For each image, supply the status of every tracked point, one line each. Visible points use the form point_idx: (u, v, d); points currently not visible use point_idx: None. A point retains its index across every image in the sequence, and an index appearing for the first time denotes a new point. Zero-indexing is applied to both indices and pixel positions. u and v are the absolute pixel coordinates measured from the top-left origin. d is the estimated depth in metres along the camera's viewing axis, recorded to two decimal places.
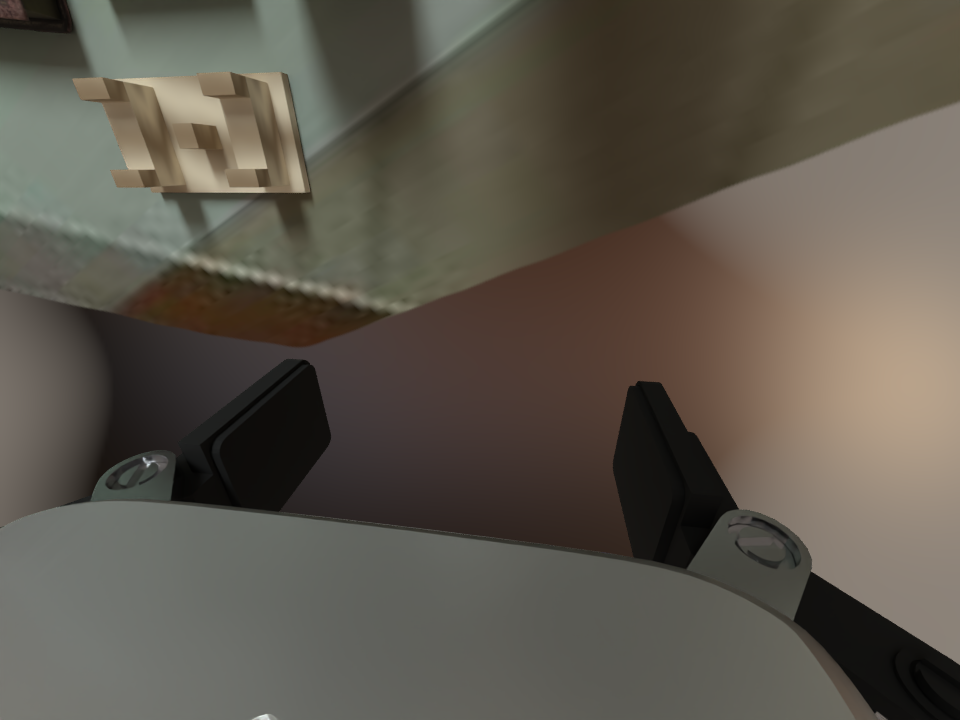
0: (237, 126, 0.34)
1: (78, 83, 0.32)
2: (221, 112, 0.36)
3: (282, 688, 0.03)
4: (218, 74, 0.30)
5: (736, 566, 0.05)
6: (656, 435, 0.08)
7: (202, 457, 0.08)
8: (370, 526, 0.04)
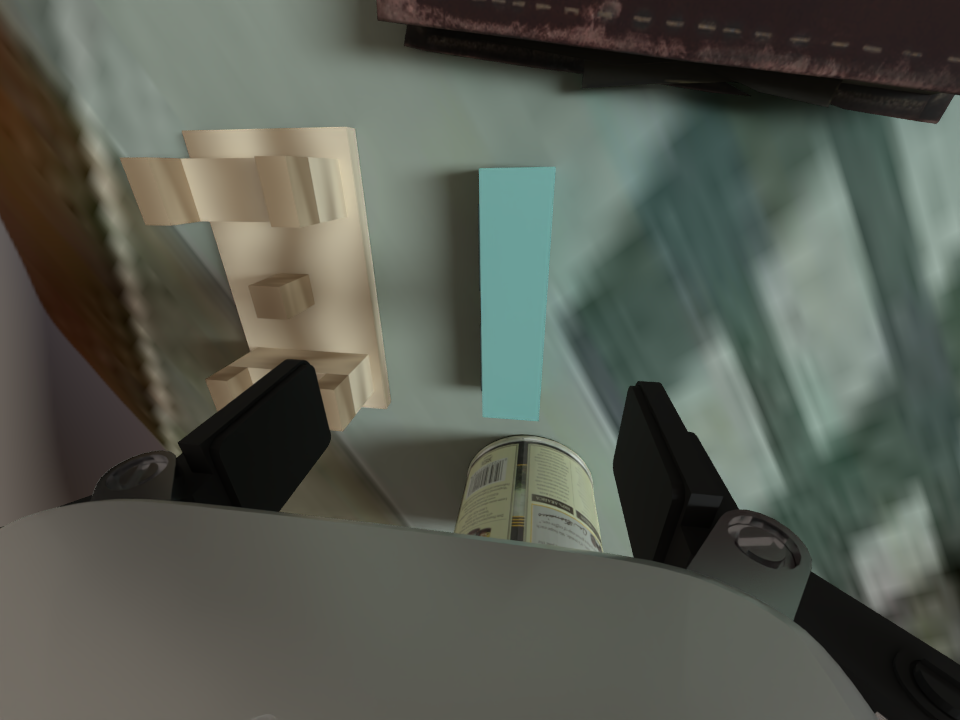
0: None
1: (279, 166, 0.17)
2: (332, 319, 0.25)
3: (282, 688, 0.03)
4: (337, 416, 0.23)
5: (736, 566, 0.05)
6: (656, 435, 0.08)
7: (202, 457, 0.08)
8: (370, 526, 0.04)
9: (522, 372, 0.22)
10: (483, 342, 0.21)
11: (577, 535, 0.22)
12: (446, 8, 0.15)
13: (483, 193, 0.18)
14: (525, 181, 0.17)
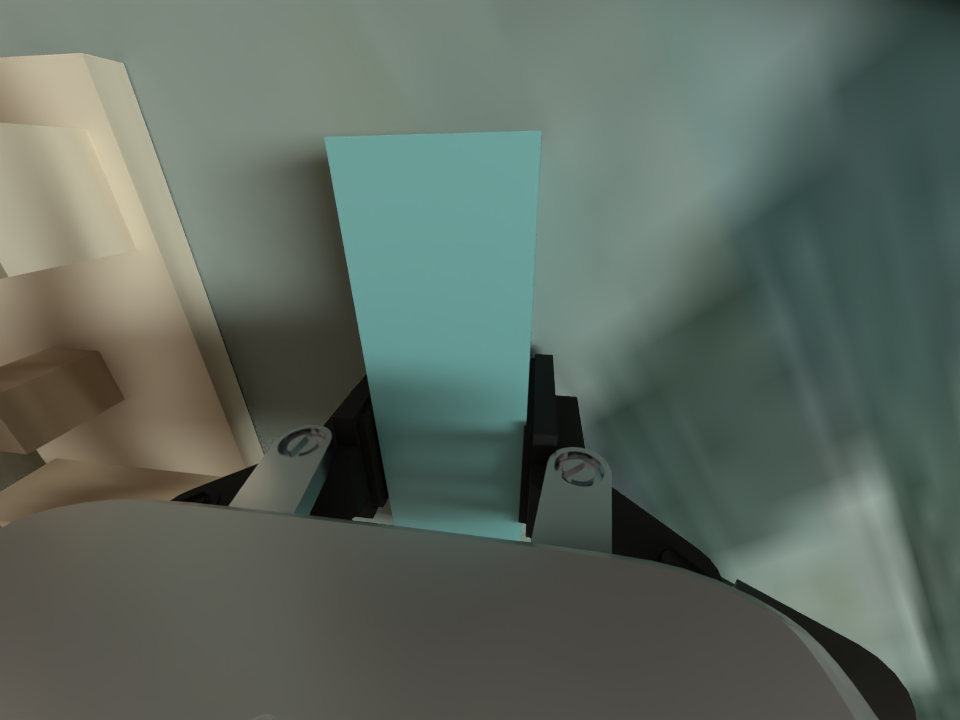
0: None
1: None
2: (161, 423, 0.14)
3: (282, 688, 0.03)
4: None
5: (568, 496, 0.07)
6: (530, 394, 0.09)
7: (350, 431, 0.08)
8: (370, 526, 0.04)
9: None
10: (395, 514, 0.10)
11: None
12: None
13: (347, 207, 0.07)
14: (456, 174, 0.06)
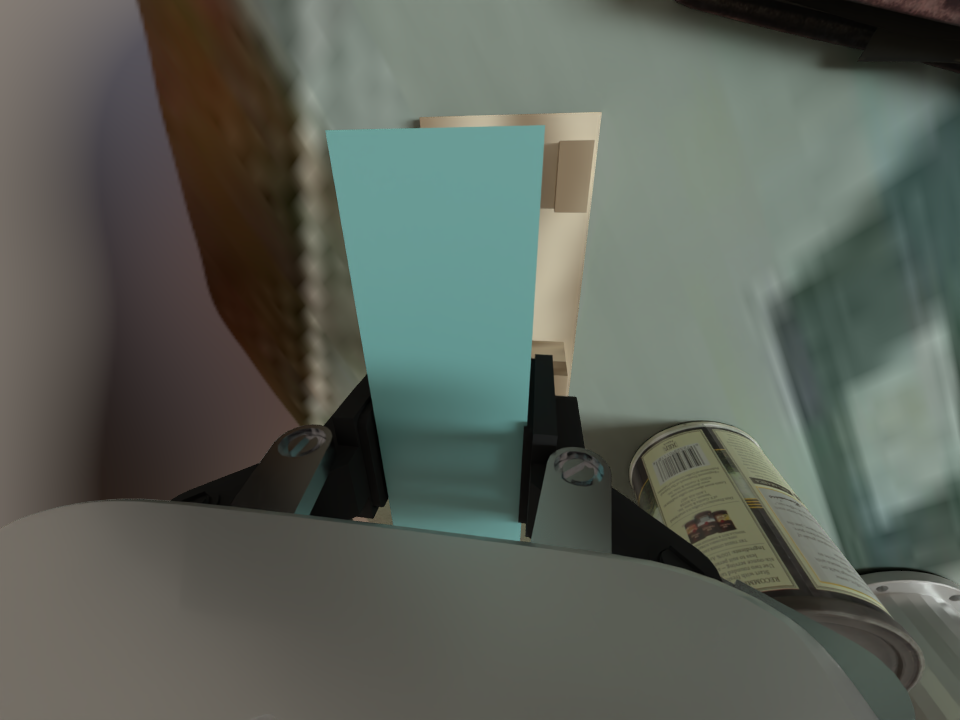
0: None
1: (585, 150, 0.17)
2: (534, 306, 0.25)
3: (282, 688, 0.03)
4: None
5: (568, 496, 0.07)
6: (529, 394, 0.09)
7: (351, 431, 0.08)
8: (370, 526, 0.04)
9: None
10: (394, 512, 0.10)
11: (810, 516, 0.22)
12: None
13: (348, 202, 0.07)
14: (458, 169, 0.06)
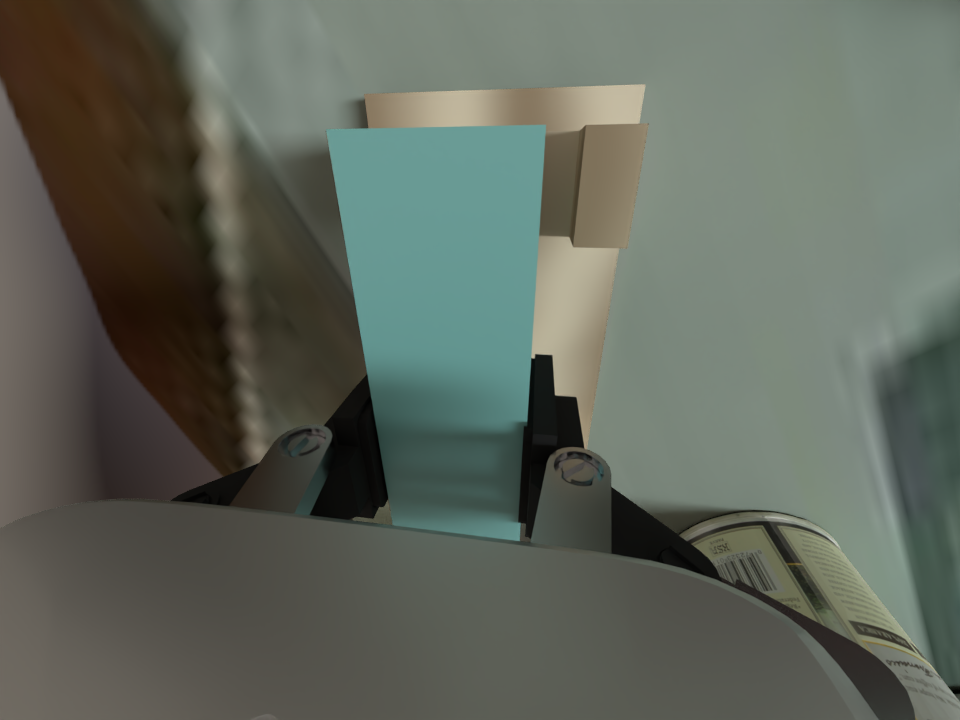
0: None
1: (630, 142, 0.09)
2: None
3: (282, 688, 0.03)
4: None
5: (567, 496, 0.07)
6: (529, 394, 0.09)
7: (351, 431, 0.08)
8: (370, 526, 0.04)
9: None
10: (394, 512, 0.10)
11: (950, 695, 0.15)
12: None
13: (348, 201, 0.06)
14: (460, 168, 0.06)
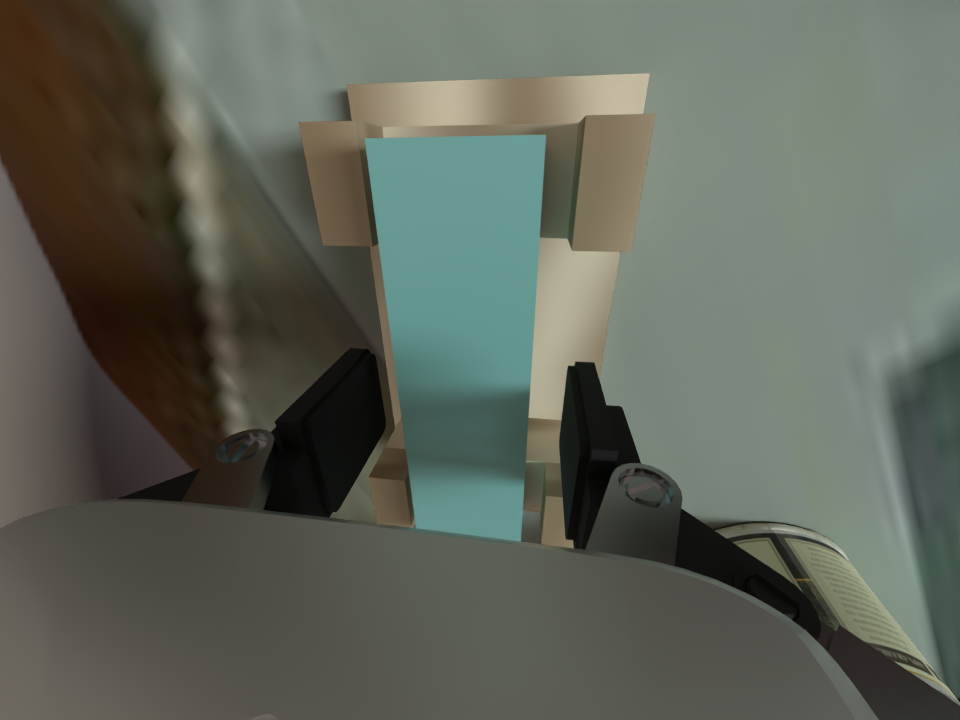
0: None
1: (635, 134, 0.08)
2: (534, 373, 0.17)
3: (282, 688, 0.03)
4: None
5: (630, 513, 0.06)
6: (578, 405, 0.09)
7: (295, 435, 0.08)
8: (370, 526, 0.04)
9: (486, 522, 0.12)
10: (412, 474, 0.11)
11: None
12: None
13: (381, 198, 0.08)
14: (475, 170, 0.07)
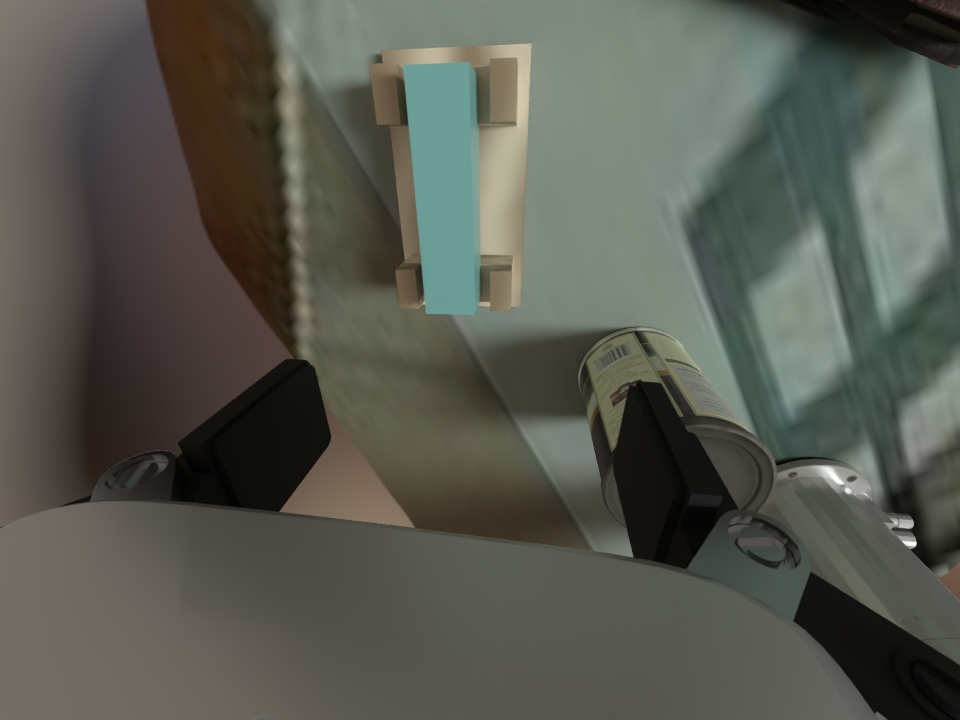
0: None
1: (510, 66, 0.21)
2: (487, 223, 0.30)
3: (282, 688, 0.03)
4: (508, 297, 0.28)
5: (736, 566, 0.05)
6: (656, 435, 0.08)
7: (202, 457, 0.08)
8: (370, 526, 0.04)
9: (457, 266, 0.25)
10: (420, 238, 0.24)
11: (708, 383, 0.27)
12: None
13: (408, 89, 0.20)
14: (444, 76, 0.20)
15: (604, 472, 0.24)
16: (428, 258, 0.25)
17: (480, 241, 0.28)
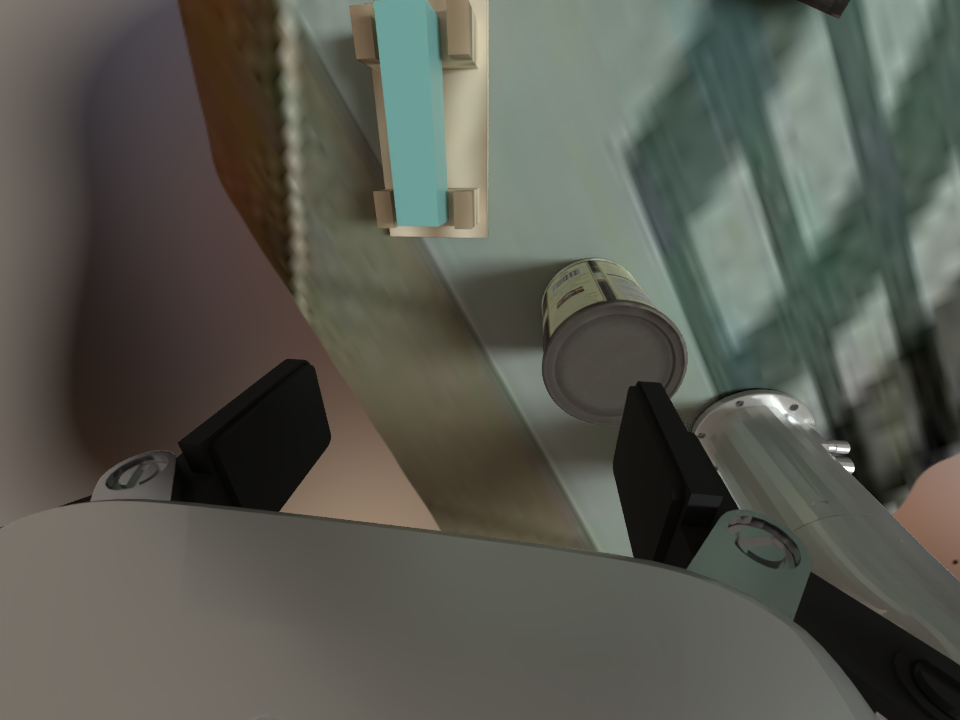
0: None
1: (462, 6, 0.26)
2: (455, 158, 0.34)
3: (282, 688, 0.03)
4: (469, 216, 0.32)
5: (736, 566, 0.05)
6: (656, 435, 0.08)
7: (202, 457, 0.08)
8: (370, 526, 0.04)
9: (422, 180, 0.29)
10: (391, 155, 0.29)
11: (642, 291, 0.31)
12: None
13: (378, 22, 0.25)
14: (406, 10, 0.24)
15: (543, 355, 0.28)
16: (398, 173, 0.29)
17: (446, 168, 0.32)
